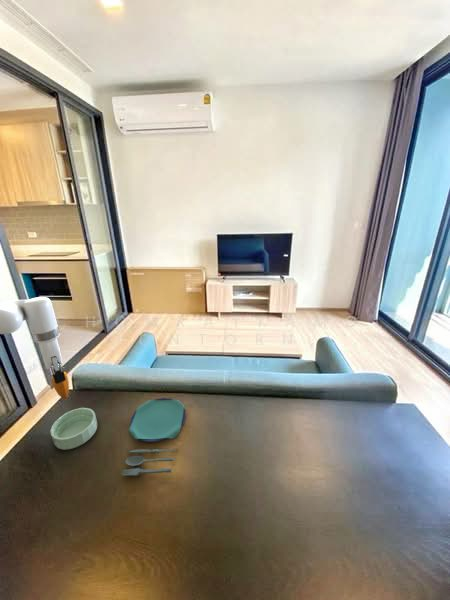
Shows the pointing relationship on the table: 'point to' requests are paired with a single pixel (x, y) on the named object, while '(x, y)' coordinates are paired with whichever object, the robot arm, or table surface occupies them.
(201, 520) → the table surface
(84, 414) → the bowl
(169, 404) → the cutlery set
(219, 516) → the table surface
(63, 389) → the carrot
